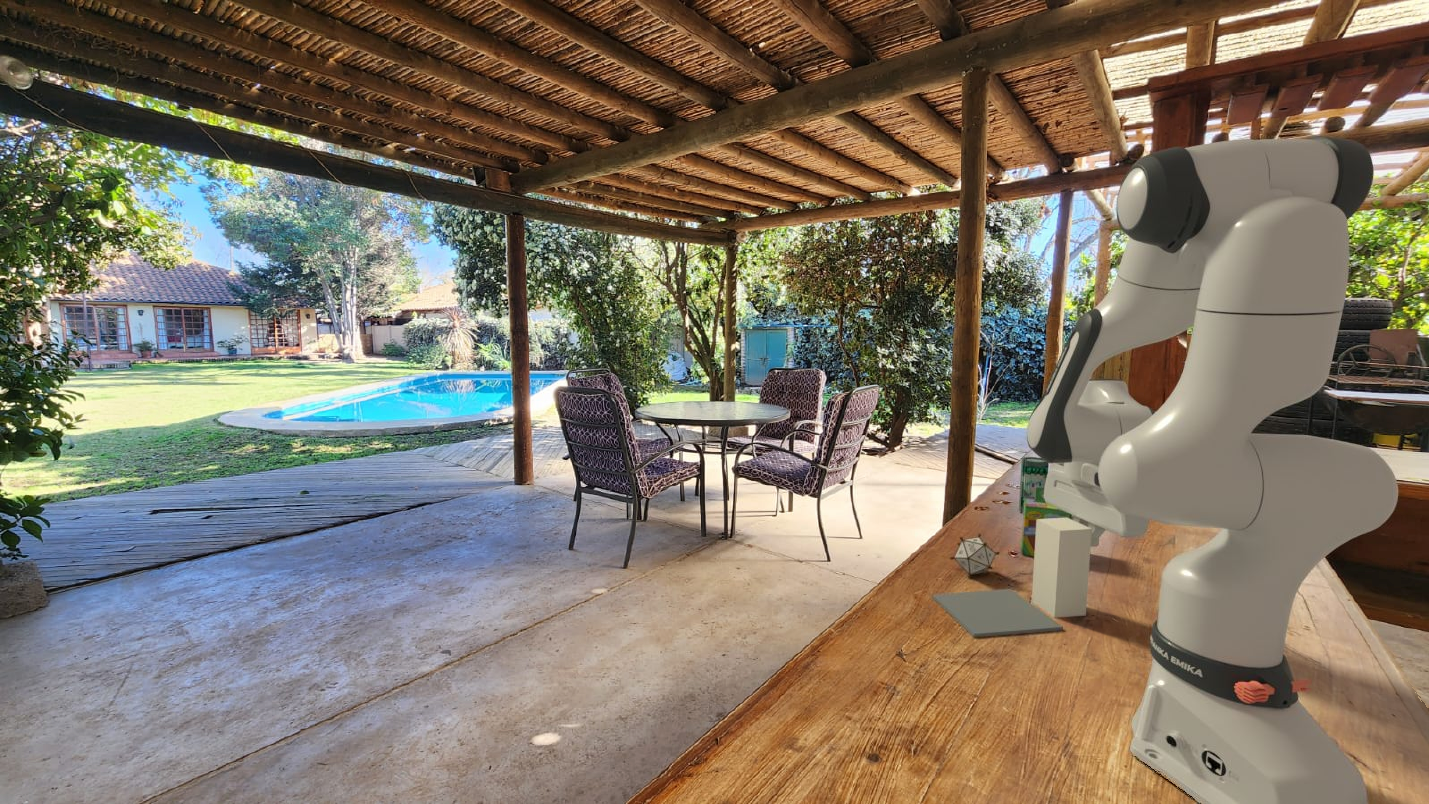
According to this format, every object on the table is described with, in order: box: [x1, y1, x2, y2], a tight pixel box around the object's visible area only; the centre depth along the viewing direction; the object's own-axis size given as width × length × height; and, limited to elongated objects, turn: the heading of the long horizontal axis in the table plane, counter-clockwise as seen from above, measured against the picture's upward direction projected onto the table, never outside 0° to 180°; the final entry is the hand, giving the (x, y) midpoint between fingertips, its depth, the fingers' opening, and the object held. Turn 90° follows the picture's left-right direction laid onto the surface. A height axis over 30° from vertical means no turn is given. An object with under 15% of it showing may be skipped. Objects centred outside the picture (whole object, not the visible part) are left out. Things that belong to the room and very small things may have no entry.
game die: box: [948, 533, 1001, 579], centre depth 116 cm, size 9×8×10 cm
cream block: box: [1031, 517, 1092, 618], centre depth 101 cm, size 6×6×16 cm
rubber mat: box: [931, 588, 1064, 638], centre depth 101 cm, size 14×16×1 cm
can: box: [1018, 456, 1050, 514], centre depth 152 cm, size 6×6×15 cm
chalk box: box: [1020, 487, 1073, 557], centre depth 126 cm, size 9×9×15 cm
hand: (1087, 543), depth 101 cm, fingers closed
